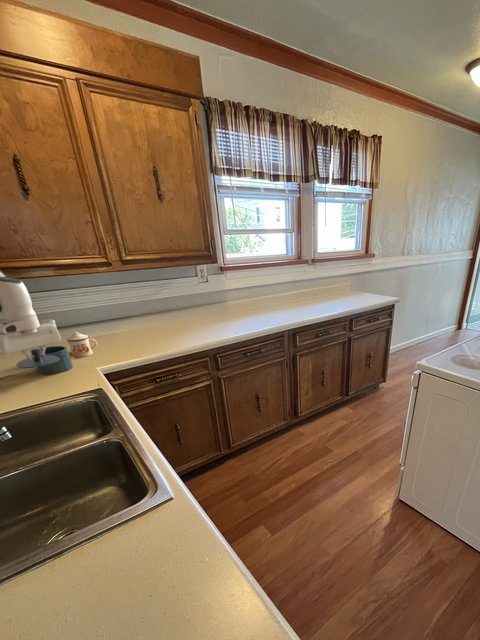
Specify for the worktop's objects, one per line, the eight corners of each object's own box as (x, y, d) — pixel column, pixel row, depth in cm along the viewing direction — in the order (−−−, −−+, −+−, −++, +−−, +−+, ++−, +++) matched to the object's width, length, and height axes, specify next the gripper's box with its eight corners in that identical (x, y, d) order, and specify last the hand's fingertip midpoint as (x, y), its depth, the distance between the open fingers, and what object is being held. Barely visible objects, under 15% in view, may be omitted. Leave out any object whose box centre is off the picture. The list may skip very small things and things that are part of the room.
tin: (53, 378, 137) (45, 357, 133) (30, 371, 145) (21, 351, 140) (82, 369, 147) (76, 349, 143) (59, 362, 155) (52, 343, 150)
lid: (29, 372, 121) (23, 357, 118) (10, 365, 126) (4, 352, 124) (67, 361, 132) (62, 347, 129) (47, 355, 137) (43, 342, 135)
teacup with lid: (72, 358, 160) (64, 335, 154) (72, 353, 166) (64, 331, 161) (100, 354, 166) (93, 331, 160) (98, 349, 172) (92, 328, 167)
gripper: (49, 317, 131) (60, 350, 138) (-13, 328, 115) (2, 364, 121) (58, 318, 129) (69, 352, 135) (-4, 330, 113) (11, 367, 119)
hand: (37, 358), depth 128 cm, fingers closed on lid, 2 cm apart
